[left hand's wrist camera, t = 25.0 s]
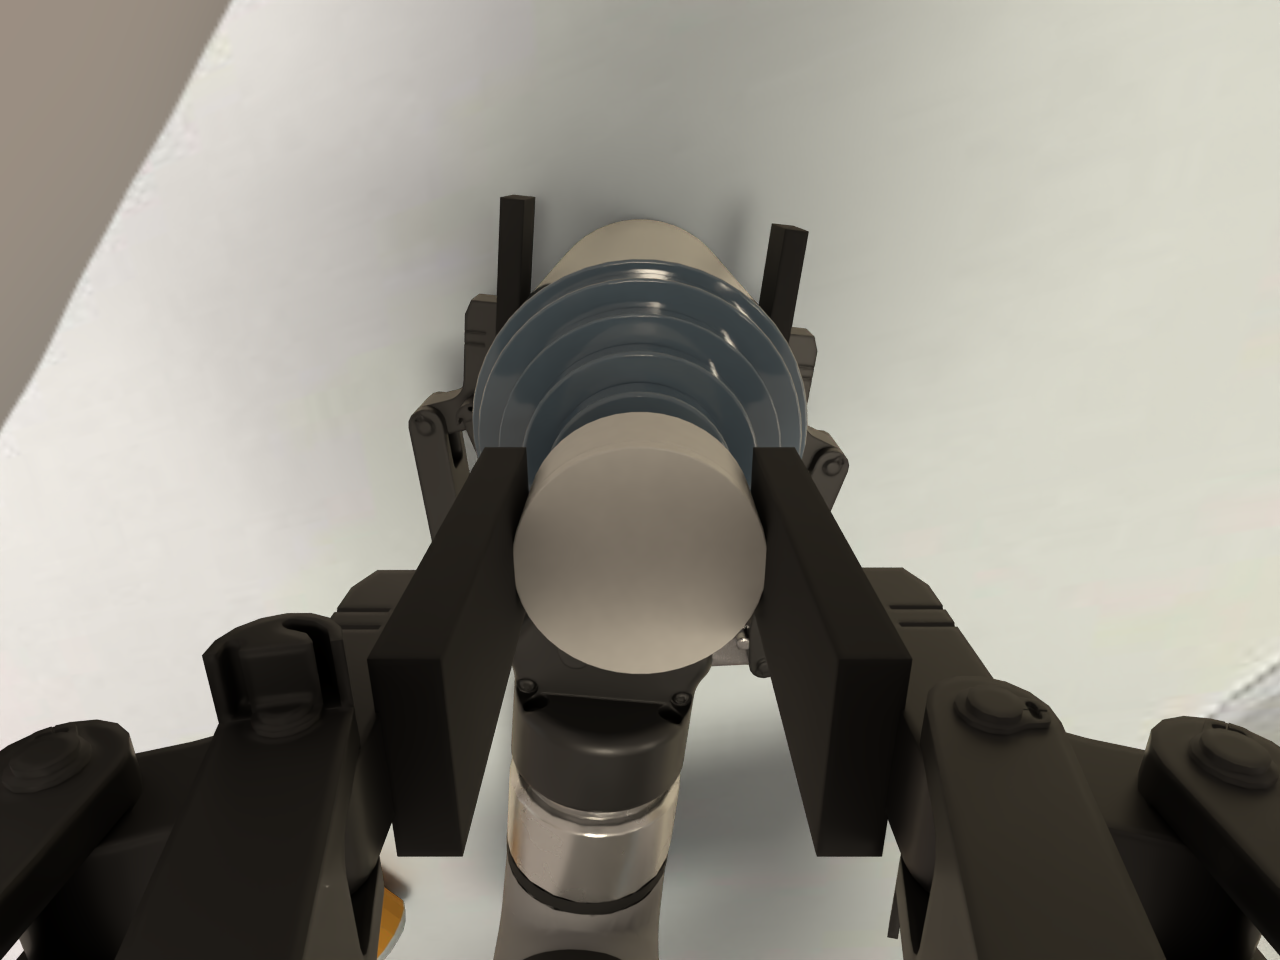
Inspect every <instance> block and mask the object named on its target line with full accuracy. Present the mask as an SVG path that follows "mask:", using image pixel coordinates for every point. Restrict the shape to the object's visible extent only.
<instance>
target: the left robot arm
mask: <svg viewBox="0 0 1280 960" xmlns="http://www.w3.org/2000/svg"><path fill="white" fill-rule="evenodd" d="M528 494H529V485H528V467H527V450H526V447H485V448H484V449H483V451H482V453H481V455H480V456H479V458H478V460H477V462H476V464H475V465H474V467H473V469H472V471H471V473H470V474H469V476H468V478H467V480H466V482H465V483H464V485H463V487H462V489H461V491H460V492H459V494H458V496H457V498H456V500H455V501H454V503H453V505H452V507H451V509H450V510H449V512H448V514H447V516H446V518H445V519H444V521H443V523H442V525H441V527H440V528H439V530H438V532H437V534H436V536H435V537H434V539H433V541H432V543H431V544H430V546H429V548H428V550H427V552H426V553H425V555H424V557H423V559H422V561H421V562H420V564H419V566H418V568H417V570H377V571H375V572H374V573H372V574H371V575H369V576H368V577H366V578H365V579H363V580H362V581H360V582H359V583H357V584H356V585H355V586H353V587H352V588H351V589H350V590H349V592H348V593H347V595H346V596H345V598H344V599H343V600H342V602H341V603H340V605H339V606H338V608H337V612H334V613H333V615H332V616H331V618H329V617H325V616H321V615H317V614H313V613H286V614H281V615H275V616H270V617H265V618H260V619H258V620H255V621H252V622H250V623H247V624H244V625H242V626H239V627H236V628H235V629H233V630H231V631H230V632H228V633H227V634H225V635H223V636H222V637H220V638H218V639H217V640H215V641H214V642H213V643H212V645H211V646H210V647H209V648H208V649H207V650H206V651H205V653H204V654H203V655H202V657H203V661H204V665H205V669H206V673H207V677H208V681H209V685H210V690H211V694H212V698H213V702H214V706H215V710H216V714H217V718H218V722H219V724H218V726H217V729H216V731H215V733H214V736H211V737H208V738H204V739H200V740H197V741H193V742H189V743H184V744H179V745H174V746H169V747H165V748H160V749H155V750H150V751H146V752H141V753H136V754H135V751H134V748H133V745H132V741H131V738H130V735H129V733H128V732H127V731H126V730H125V729H124V728H122V727H121V726H120V725H119V724H118V723H113V722H108V721H102V720H87V721H77V722H69V723H65V724H60V725H55V727H49V728H46V729H43V730H40V731H37V732H35V733H33V734H32V735H29V736H27V737H25V738H23V739H21V740H19V741H17V742H15V743H12V744H10V745H8V746H7V747H5V748H4V749H3V750H1V751H0V960H1V959H2V958H3V957H4V956H5V955H6V953H7V952H8V951H9V950H10V949H11V947H12V946H13V945H14V944H15V943H16V941H17V940H18V939H19V940H20V942H21V944H22V947H23V949H24V951H23V952H22V953H21V955H20V956H19V957H18V958H17V960H377V952H378V943H379V934H380V925H381V916H382V907H383V898H384V882H383V874H382V868H381V862H380V856H379V855H380V852H381V850H382V847H383V844H384V842H385V839H386V836H387V834H388V831H389V829H390V826H391V823H392V824H393V831H394V837H395V844H396V850H397V856H398V857H459V856H463V853H464V849H465V846H466V842H467V838H468V834H469V830H470V826H471V822H472V818H473V814H474V811H475V807H476V803H477V799H478V795H479V791H480V787H481V783H482V779H483V776H484V772H485V768H486V764H487V760H488V756H489V752H490V748H491V744H492V741H493V737H494V733H495V729H496V725H497V721H498V717H499V713H500V709H501V706H502V702H503V698H504V694H505V690H506V686H507V682H508V678H509V674H510V671H511V667H512V663H513V659H514V655H515V651H516V647H517V643H518V639H519V636H520V632H521V628H522V624H523V620H524V616H525V612H526V610H525V609H524V607H523V605H522V603H521V601H520V598H519V595H518V593H517V590H516V585H515V572H514V557H513V542H514V538H515V533H516V529H517V526H518V524H519V521H520V518H521V515H522V512H523V509H524V506H525V503H526V500H527V497H528ZM751 495H752V497H753V500H754V503H755V506H756V509H757V512H758V515H759V518H760V521H761V524H762V527H763V530H764V534H765V538H766V542H767V548H766V564H765V579H764V589H763V592H762V595H761V598H760V601H759V603H758V605H757V607H756V608H755V610H754V614H755V618H756V622H757V626H758V630H759V634H760V638H761V641H762V645H763V649H764V653H765V657H766V661H767V665H768V669H769V673H770V676H771V680H772V684H773V688H774V692H775V696H776V700H777V704H778V708H779V711H780V715H781V719H782V723H783V727H784V731H785V735H786V739H787V743H788V746H789V750H790V754H791V758H792V762H793V766H794V770H795V774H796V778H797V781H798V785H799V789H800V793H801V797H802V801H803V805H804V809H805V813H806V816H807V820H808V824H809V828H810V832H811V836H812V840H813V844H814V848H815V852H816V855H817V857H882V853H883V847H884V840H885V834H886V827H887V821H889V823H890V826H891V829H892V831H893V834H894V837H895V839H896V842H897V844H898V847H899V850H900V852H901V856H900V862H899V868H898V874H897V880H896V886H895V892H894V898H893V904H892V910H891V916H890V922H889V929H888V936H887V937H889V938H895V939H898V934H899V929H900V932H901V941H902V951H903V960H1267V959H1266V958H1265V957H1264V956H1263V954H1262V953H1261V952H1260V951H1259V950H1258V948H1257V945H1258V943H1259V940H1260V938H1261V935H1263V936H1264V938H1265V939H1266V940H1267V941H1268V942H1269V944H1270V945H1271V946H1272V947H1273V948H1274V949H1275V951H1276V952H1277V953H1278V954H1279V955H1280V747H1279V746H1278V745H1276V744H1275V743H1273V742H1272V741H1270V740H1267V739H1265V738H1263V737H1261V736H1259V735H1257V734H1255V733H1252V732H1250V731H1248V730H1247V729H1245V728H1243V727H1240V726H1237V725H1234V724H1231V723H1229V724H1228V723H1225V722H1224V721H1219V720H1214V719H1209V718H1199V717H1189V716H1181V717H1175V718H1170V719H1164V720H1162V721H1161V722H1160V723H1158V724H1157V725H1156V726H1155V727H1154V728H1153V729H1151V733H1150V736H1149V739H1148V743H1147V746H1146V749H1145V750H1141V749H1136V748H1132V747H1127V746H1122V745H1117V744H1112V743H1107V742H1103V741H1098V740H1093V739H1088V738H1084V737H1081V736H1077V735H1073V734H1070V733H1066V732H1065V730H1064V727H1063V725H1062V723H1061V721H1060V720H1059V719H1058V717H1057V716H1056V715H1055V713H1054V712H1053V711H1052V709H1051V708H1050V707H1049V706H1048V705H1047V704H1045V703H1044V702H1043V701H1041V700H1040V699H1039V698H1037V697H1036V696H1034V695H1033V694H1032V693H1030V692H1028V691H1026V690H1024V689H1021V688H1019V687H1017V686H1015V685H1012V684H1010V683H1008V682H1005V681H1001V680H996V679H993V677H992V676H991V674H990V673H989V671H988V670H987V669H986V667H985V666H984V664H983V663H982V661H981V660H980V659H979V657H978V656H977V654H976V653H975V651H974V650H973V648H972V647H971V646H970V644H969V643H968V641H967V640H966V638H965V637H964V635H963V634H962V633H961V631H960V630H959V628H958V627H955V625H954V621H953V620H952V618H951V617H950V615H949V614H948V612H947V611H946V610H943V605H942V604H941V602H940V601H939V599H938V598H937V597H936V595H935V594H934V592H933V591H932V589H931V588H930V586H929V585H928V584H926V583H925V582H923V581H922V580H920V579H919V578H917V577H916V576H914V575H913V574H911V573H910V572H908V571H907V570H905V569H904V568H862V567H861V565H860V563H859V562H858V560H857V558H856V556H855V554H854V553H853V551H852V549H851V547H850V545H849V544H848V542H847V540H846V538H845V537H844V535H843V533H842V531H841V529H840V528H839V526H838V524H837V522H836V520H835V519H834V517H833V515H832V513H831V511H830V510H829V508H828V506H827V504H826V502H825V501H824V499H823V497H822V495H821V493H820V492H819V490H818V488H817V486H816V484H815V483H814V481H813V479H812V477H811V475H810V474H809V472H808V470H807V468H806V466H805V465H804V463H803V461H802V459H801V457H800V456H799V454H798V452H797V450H796V448H795V447H753V458H752V475H751Z"/></svg>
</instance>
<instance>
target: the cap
mask: <svg viewBox="0 0 1280 960" xmlns="http://www.w3.org/2000/svg"><path fill="white" fill-rule="evenodd" d="M766 548H767V542H766V538H765V534H764V530H763V527H762V524H761V521H760V518H759V515H758V512H757V509H756V506H755V503H754V500H753V497H752V495H751V492H750V489H749V486H748V483H747V481H746V478H745V476H744V473H743V472H742V470H741V468H740V466H739V465H738V463H737V461H736V460H735V459H734V457H733V456H732V455H731V453H730V452H729V451H728V450H727V449H726V448H725V447H724V446H723V445H722V444H721V443H720V442H719V441H718V440H717V439H716V438H714V437H713V436H712V435H710V434H709V433H708V432H706V431H705V430H703V429H701V428H699V427H698V426H696V425H694V424H692V423H690V422H687V421H685V420H682V419H680V418H677V417H673V416H669V415H665V414H659V413H651V412H628V413H621V414H615V415H611V416H607V417H603V418H600V419H598V420H595V421H593V422H590V423H588V424H586V425H584V426H582V427H580V428H579V429H577V430H575V431H573V432H572V433H571V434H570V435H568V436H567V437H566V438H564V439H563V440H562V441H561V442H560V443H559V444H558V445H557V446H556V447H555V448H554V449H553V450H552V451H551V452H550V453H549V455H548V456H547V457H546V458H545V460H544V461H543V463H542V464H541V466H540V468H539V470H538V472H537V473H536V475H535V478H534V481H533V483H532V486H531V489H530V491H529V494H528V497H527V500H526V503H525V506H524V509H523V512H522V515H521V518H520V521H519V524H518V526H517V529H516V533H515V538H514V542H513V557H514V572H515V585H516V590H517V593H518V595H519V598H520V601H521V603H522V605H523V607H524V609H525V610H526V612H527V614H528V616H529V617H530V619H531V620H532V621H533V623H534V624H535V626H536V627H537V628H538V629H539V630H540V631H541V632H542V634H543V635H544V636H545V637H546V638H547V639H548V640H550V641H551V642H552V643H553V644H554V645H556V646H557V647H558V648H559V649H561V650H562V651H564V652H566V653H567V654H569V655H570V656H572V657H574V658H576V659H578V660H580V661H582V662H584V663H586V664H589V665H592V666H595V667H598V668H601V669H605V670H610V671H614V672H621V673H630V674H650V673H659V672H666V671H670V670H675V669H679V668H682V667H685V666H688V665H691V664H693V663H696V662H698V661H700V660H702V659H704V658H706V657H708V656H710V655H711V654H713V653H714V652H716V651H717V650H719V649H721V648H722V647H723V646H724V645H725V644H727V643H728V642H729V641H730V640H732V639H733V638H734V637H735V636H736V634H737V633H738V632H739V631H740V630H741V629H742V628H743V627H744V625H745V624H746V623H747V621H748V620H749V619H750V617H751V616H752V614H753V612H754V610H755V608H756V607H757V605H758V603H759V601H760V598H761V595H762V592H763V589H764V579H765V564H766Z"/></svg>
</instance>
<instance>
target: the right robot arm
mask: <svg viewBox="0 0 1280 960" xmlns="http://www.w3.org/2000/svg"><path fill="white" fill-rule="evenodd" d="M534 213H535V197H529V196H520V195H510V196H505V197H500V221H499V250H498V278H497V296H496V295H486V294H478V295H477V296H476V297H475V298H473V299H472V300H471V302H470V304H469V306H468V309H467V311H466V313H465V345H464V382H463V387H462V388H460V389H457V390H454V391H450V392H436V393H433V394H432V395H431V396H429V397H428V398H427V399H426V400H425V402H424V403H423V404H422V405H421V406H420V407H419V408H418V409H417V410H416V411H415V412H414V413H413V415H412V416H411V418H410V420H409V432H410V437H411V441H412V446H413V451H414V456H415V461H416V466H417V471H418V476H419V480H420V485H421V490H422V495H423V500H424V505H425V510H426V515H427V519H428V524H429V529H430V534H431V539H432V541H433V539H434V537H435V536H436V534H437V532H438V530H439V528H440V527H441V525H442V523H443V521H444V519H445V518H446V516H447V514H448V512H449V510H450V509H451V507H452V505H453V503H454V501H455V500H456V498H457V496H458V494H459V492H460V491H461V489H462V487H463V485H464V483H465V482H466V480H467V478H468V476H469V474H470V472H469V467H468V461H467V456H466V450H465V444H464V439H463V433H462V431H464V430H466V431H467V433H468V435H469V437H470V440H471V442H472V444H473V447H474V449H475V451H476V448H475V443H474V437H473V421H472V416H473V402H474V394H475V389H476V385H477V380H478V376H479V373H480V370H481V368H482V365H483V362H484V359H485V357H486V355H487V353H488V351H489V349H490V347H491V345H492V343H493V341H494V340H495V338H496V336H497V335H498V333H499V332H500V331H501V329H502V328H503V326H504V325H505V324H506V322H507V321H508V320H509V318H510V317H511V316H512V315H513V314H514V313H515V311H516V310H517V309H518V308H519V307H520V306H521V305H522V303H523V302H524V301H525V300H526V299H527V298H528V297H529V295H530V291H531V271H532V252H533V232H534ZM808 233H809V231H806V230H803V229H800V228H798V227H795V226H790V225H781V224H772V226H771V232H770V238H769V244H768V251H767V257H766V263H765V269H764V276H763V282H762V288H761V294H760V300H759V306H760V307H761V308H762V310H763V311H764V312H765V313H766V314H767V315H768V316H769V317H770V319H771V320H772V321H773V322H774V323H775V325H776V326H777V328H778V329H779V331H780V332H781V334H782V335H783V337H784V338H785V340H786V341H787V343H788V345H789V347H790V349H791V351H792V353H793V355H794V357H795V359H796V361H797V364H798V367H799V371H800V374H801V377H802V380H803V384H804V389H805V395H806V401H807V402H808V397H809V392H810V387H811V382H812V376H813V371H814V366H815V361H816V356H817V347H816V342H815V337H814V336H813V335H812V334H811V333H810V332H809V331H808V330H807V329H805V328H796V327H792V323H793V317H794V312H795V306H796V300H797V295H798V289H799V283H800V278H801V272H802V267H803V261H804V255H805V250H806V244H807V239H808ZM802 461H803V463H804V465H805V466H806V468H807V470H808V472H809V474H810V475H811V477H812V479H813V481H814V483H815V484H816V486H817V488H818V490H819V492H820V493H821V495H822V497H823V499H824V501H825V502H826V504H827V506H828V508H829V510H830V511H831V509H832V507H833V505H834V502H835V500H836V498H837V495H838V493H839V491H840V488H841V486H842V484H843V482H844V479H845V477H846V475H847V472H848V468H849V463H848V459H847V458H846V456H845V455H844V453H843V452H842V451H841V449H840V448H839V446H838V445H837V444H836V442H835V441H834V440H833V438H832V437H831V436H830V434H829V433H827V432H825V431H822V430H816V429H814V428H812V427H810V426H808V425H807V435H806V444H805V449H804V453H803V457H802ZM746 664H749V667H750V671H751V672H752V674H753V675H755V676H757V677H760V678H767V677H771V676H770V673H769V669H768V665H767V661H766V657H765V653H764V649H763V645H762V641H761V638H760V634H759V630H758V626H757V622H756V618H755V614H754V612H753V614H752V616H751V617H750V619H749V620H748V621H747V623H746V624H745V625H744V627H743V628H742V629H741V630H740V631H739V632H738V633H737V634H736V636H735V637H734V638H733V639H732V640H730V641H729V642H728V643H727V644H725V645H724V646H723V647H722V648H721V649H719V650H717V651H716V652H714V653H713V654H711V655H710V656H708V657H706V658H704V659H702V660H700V661H698V662H696V663H693V664H691V665H688V666H685V667H682V668H679V669H675V670H670V671H666V672H659V673H650V674H630V673H621V672H614V671H610V670H605V669H601V668H598V667H595V666H592V665H589V664H586V663H584V662H582V661H580V660H578V659H576V658H574V657H572V656H570V655H569V654H567V653H566V652H564V651H562V650H561V649H559V648H558V647H557V646H556V645H554V644H553V643H552V642H551V641H550V640H548V639H547V638H546V637H545V636H544V635H543V634H542V632H541V631H540V630H539V629H538V628H537V627H536V626H535V624H534V623H533V621H532V620H531V619H530V617H529V616H528V614H527V612H525V616H524V620H523V624H522V628H521V632H520V636H519V639H518V643H517V647H516V651H515V655H514V659H513V663H512V667H513V670H514V674H515V686H514V704H513V723H512V741H511V751H512V761H511V765H510V775H509V799H508V823H507V859H506V870H505V881H504V892H503V903H502V912H501V919H500V926H499V932H498V937H497V943H496V948H495V953H494V959H493V960H659V951H658V931H659V915H660V906H661V897H662V889H663V880H664V872H665V866H666V862H667V857H668V850H669V847H670V843H671V838H672V831H673V825H674V819H675V813H676V806H677V800H678V794H679V787H680V772H681V769H682V766H683V760H684V754H685V748H686V742H687V735H688V729H689V723H690V716H691V710H692V704H693V698H694V693H695V690H696V688H697V686H698V684H699V683H700V681H701V680H702V679H703V678H704V677H705V676H706V674H707V673H708V672H709V670H710V668H711V666H725V665H746Z"/></svg>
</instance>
